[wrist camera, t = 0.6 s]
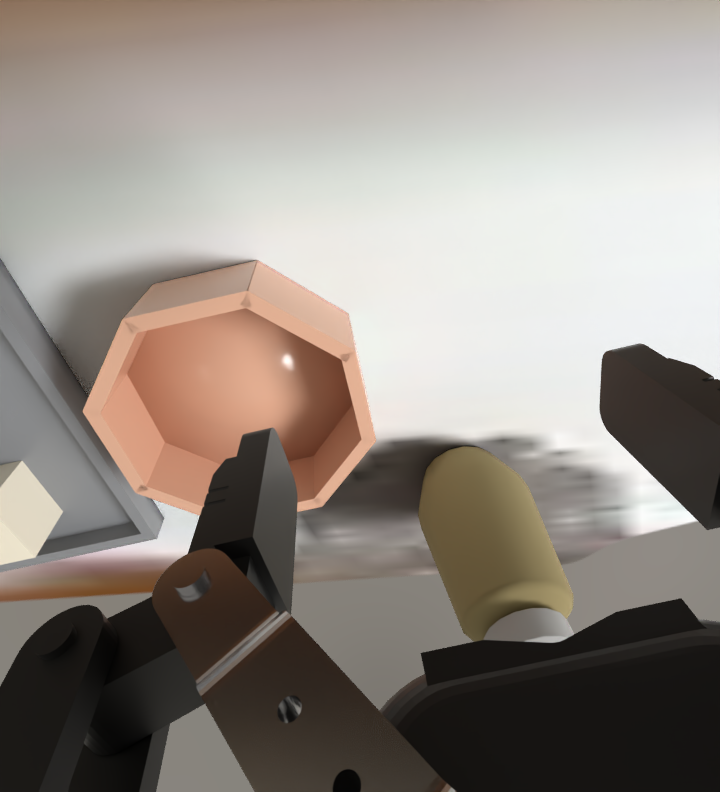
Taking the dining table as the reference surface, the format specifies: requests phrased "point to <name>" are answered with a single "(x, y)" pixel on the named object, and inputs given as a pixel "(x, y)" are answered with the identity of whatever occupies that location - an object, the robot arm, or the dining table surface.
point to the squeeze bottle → (493, 550)
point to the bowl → (231, 385)
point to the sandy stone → (23, 513)
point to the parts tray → (61, 442)
